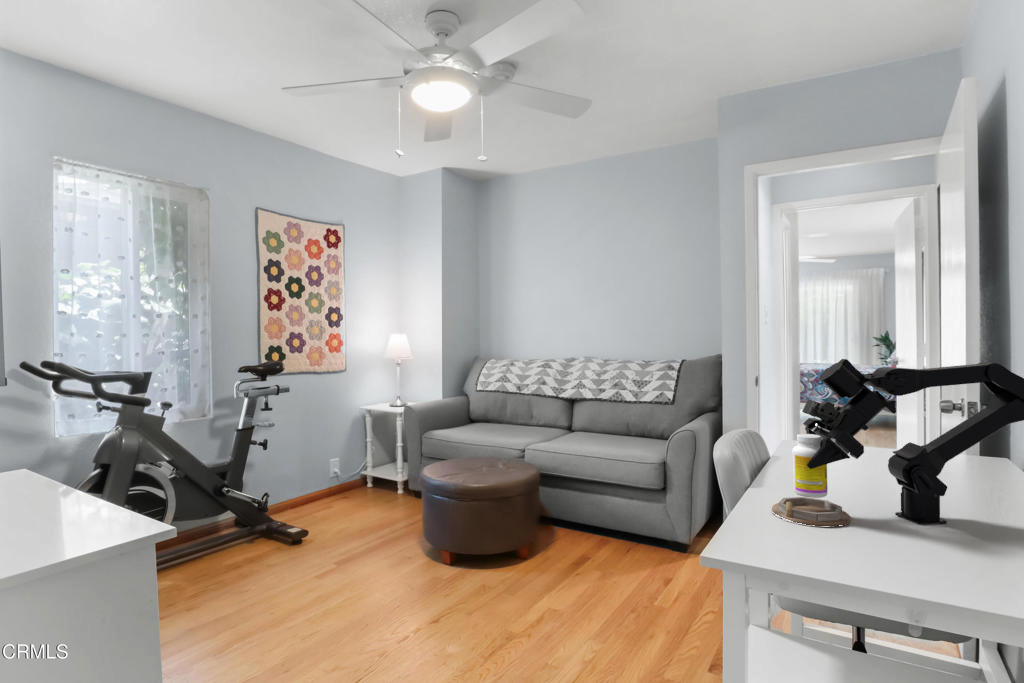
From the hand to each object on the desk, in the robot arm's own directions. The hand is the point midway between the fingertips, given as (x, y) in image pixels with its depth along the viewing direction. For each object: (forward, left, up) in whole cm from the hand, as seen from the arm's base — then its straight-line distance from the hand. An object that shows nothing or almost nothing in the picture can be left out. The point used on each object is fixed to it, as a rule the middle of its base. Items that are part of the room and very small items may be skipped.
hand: (802, 463), depth 121 cm
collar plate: (-1, -1, -11) cm, 11 cm away
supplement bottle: (0, -1, -7) cm, 7 cm away
